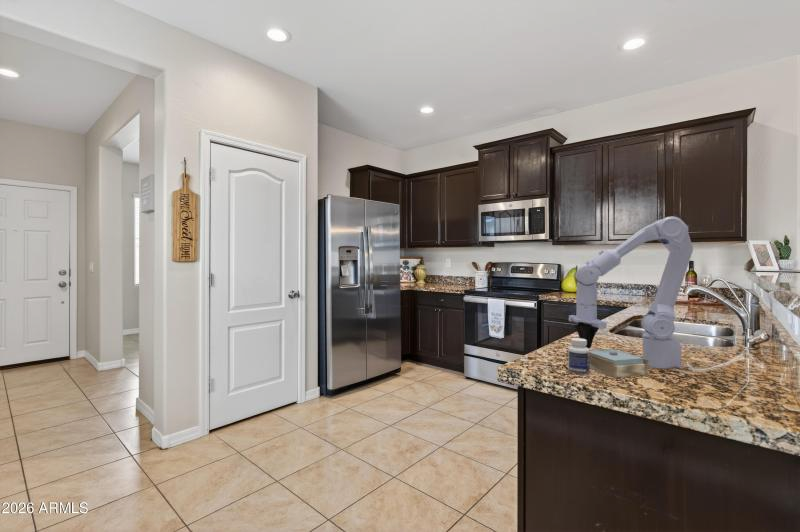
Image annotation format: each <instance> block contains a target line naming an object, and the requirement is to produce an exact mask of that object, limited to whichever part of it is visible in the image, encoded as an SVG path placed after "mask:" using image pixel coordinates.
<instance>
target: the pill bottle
mask: <svg viewBox="0 0 800 532" xmlns="http://www.w3.org/2000/svg"><path fill="white" fill-rule="evenodd" d="M586 345H587V340H586V339H581V338H580V337H579V338H578V337H573V338H571V339H570V346H568V353H567V354H568V356H567V357H568V360H567V361H568V367H567V368H568V372H570V373H571V374H576V375H588V374H590V371H591V369H590V351H591V350H590V348H587V347H586Z"/></svg>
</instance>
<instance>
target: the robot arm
mask: <svg viewBox="0 0 800 532" xmlns="http://www.w3.org/2000/svg"><path fill="white" fill-rule="evenodd" d="M656 240H657V241H658V242H660V243H661V244H663V245H664V247H665V248H666V249H667V251H668V252H669V253H668V258H667V259H666V260H667V261H666V264H665V266H664V269H663V273H662V275H661V277H660V278H661V279H660V281H659V285H658V288H657V291H656V294H655V297H654V300H653V302H652V304H651V305H650V306H649V308H648V311H647V312H646V313H645V315H643V316H642V318H641V321H640V324H641V325H640V326H641V327H642V329H643V330H644V332H643V334H642V358H644V359H647V360H648V368H649V367H650V368H655V369H656V368H657V369H671V368H680V369H685V367H683V366H682V345H681V342H680V341H679V340H678V339H677V338H675V337H673V334H674V333H675V328H676V327H675V323H674V322H675V316H676V313H675V306H676V303H677V300H678V296H679V293H680V290H681V288H682V285H683V281H684V278H685V276H686V272H687V270H688V266H689V264H690V260H691V257H692V254H693V251H694V247H693V244H692V243H693V242H692V241H691V237H690V233H689V226H688V225H687V224H686V223H685V222H684V221H683V220H682V219H681V218H679V217H677V216H672V215H671V216H666V217H664V218H661V219H657V220H655V221H653V223H651V224H648V225H646V226H645V227H643V228H641V229H639V230H638V231H637V232H635V233H633V234H632V235H631V236H630V237H628V238H627V239H626V240H624V241H623V242H622V243H620V245H618V246H616V247H615V248H613V249H608V248H607V249H605V250H602V249H601V250H600V251H599V252H598V255H596V256H595V257H594V258H592V259H591V260H587V261H585V264H586V265H583V266H580V267H579V268H578V269H577V270H576V272H575V274H574V277H575V279H576V281H577V283H576V297H575V299H576V301H575V302H576V303H575V305H576V314H571V315H568V322H573V323H577V324H574V329H575V331H576V333H577V336H579V338H581V339H586V340H587V345H586V347H587V348H588V349H591V347H592V344H593V342H594V337H595V336H596V334H597V332H598V331H599V330H600V329H601V330H602V329H603V330H604V329H605V330H606V329H607V321H604V320H601V319H598V317H597V316H598V312H597V311H598V309H597V308H598V306H597V305H598V299H597V298H598V291H597V290H598V289H597V282H598V280H599V278H600V277H603V276H605V275H607V273H609V272H610V271H612V270H613V269H615V268H616V267H618V266H619V265H621V259H622V258H623V257H625V256H626V255H628V254H629V253H630V252H632V251H634V250H636V248H638V247H640V246H641V245H642V244H644V243H646V242H651V241H656Z"/></svg>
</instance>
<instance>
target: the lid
mask: <svg viewBox="0 0 800 532" xmlns="http://www.w3.org/2000/svg"><path fill="white" fill-rule="evenodd" d="M589 351H590V354H592V355H595V356H597V357H600V358H603V359H606V360H609V361H612V362H615V366H622V365H634V364H643V357H641V356H637V355H633V354H631V353H627V352H624V351H621V350H617V349H614V348H610V349H594V350H589Z"/></svg>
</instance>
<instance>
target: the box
mask: <svg viewBox="0 0 800 532" xmlns="http://www.w3.org/2000/svg"><path fill="white" fill-rule="evenodd" d="M642 358H643V357H642ZM590 370H593V371H595V372H598V373H600V374H602V375H605V376H608V377H611V378H613V379H615V378H625V377H637V376H646V375H647V376H649V366H648V360H647V359H644V358H643V364H634V365H622V366H615V362H612V361H609V360H606V359H603V358H600V357H597V356H595V355H592V354H590Z"/></svg>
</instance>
